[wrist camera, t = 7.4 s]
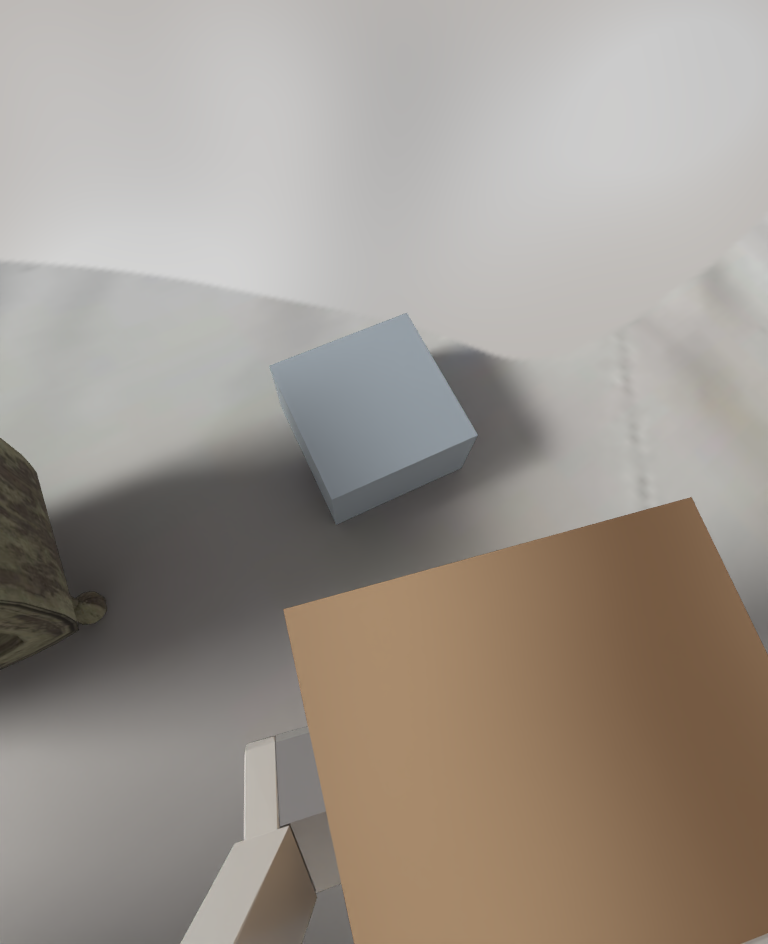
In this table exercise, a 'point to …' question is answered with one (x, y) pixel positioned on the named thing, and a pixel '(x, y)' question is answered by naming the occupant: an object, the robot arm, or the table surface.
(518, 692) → the walnut pillar
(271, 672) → the table surface
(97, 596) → the tabletop clock
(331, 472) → the slate block
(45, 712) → the table surface
